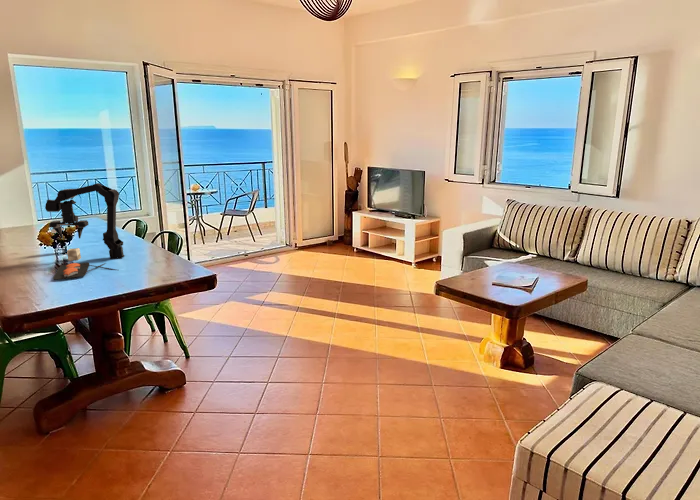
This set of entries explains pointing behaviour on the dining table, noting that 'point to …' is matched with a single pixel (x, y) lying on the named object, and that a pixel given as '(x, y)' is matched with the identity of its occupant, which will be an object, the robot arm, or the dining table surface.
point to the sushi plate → (74, 270)
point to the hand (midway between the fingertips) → (71, 238)
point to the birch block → (73, 254)
